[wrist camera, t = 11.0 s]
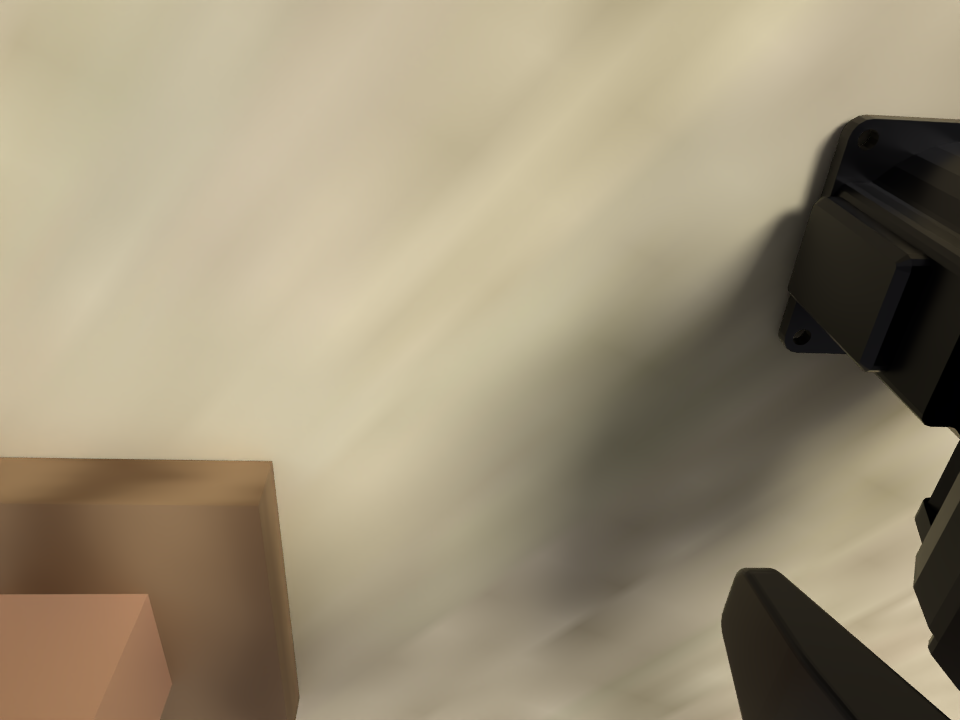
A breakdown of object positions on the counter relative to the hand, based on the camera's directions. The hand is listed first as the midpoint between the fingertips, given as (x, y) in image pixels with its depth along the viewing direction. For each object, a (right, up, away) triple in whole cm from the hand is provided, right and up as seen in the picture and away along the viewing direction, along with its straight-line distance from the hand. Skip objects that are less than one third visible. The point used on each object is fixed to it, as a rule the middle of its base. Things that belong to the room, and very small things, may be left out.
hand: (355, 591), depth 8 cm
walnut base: (-11, -5, +17) cm, 21 cm away
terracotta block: (-11, -6, +15) cm, 20 cm away
